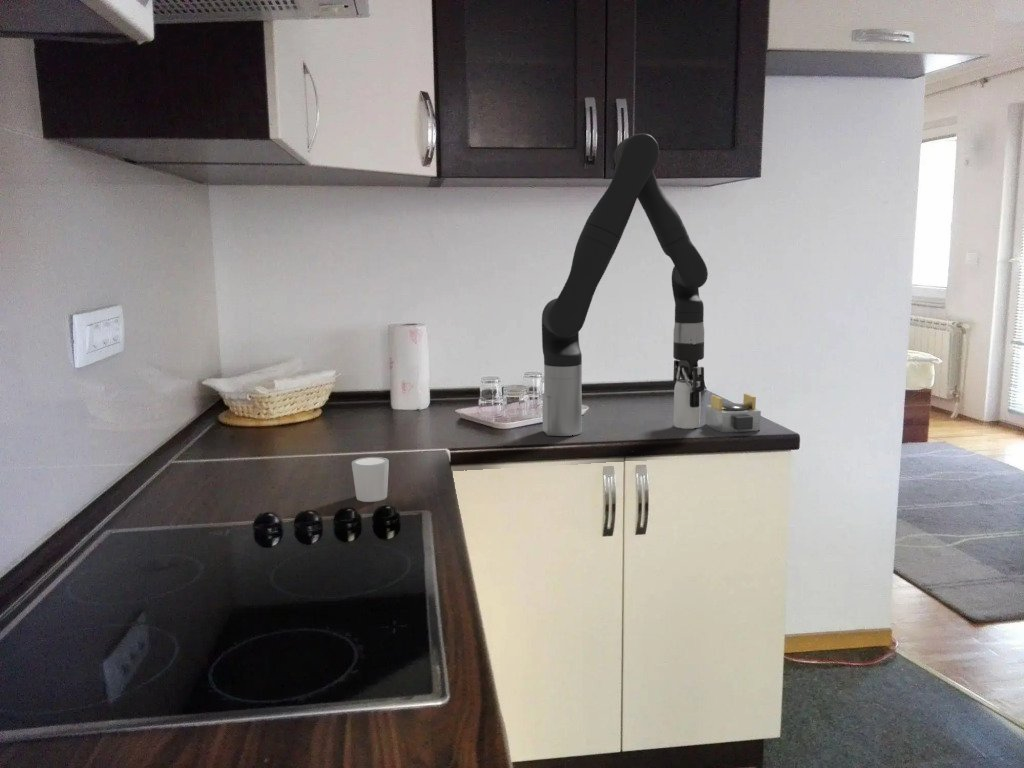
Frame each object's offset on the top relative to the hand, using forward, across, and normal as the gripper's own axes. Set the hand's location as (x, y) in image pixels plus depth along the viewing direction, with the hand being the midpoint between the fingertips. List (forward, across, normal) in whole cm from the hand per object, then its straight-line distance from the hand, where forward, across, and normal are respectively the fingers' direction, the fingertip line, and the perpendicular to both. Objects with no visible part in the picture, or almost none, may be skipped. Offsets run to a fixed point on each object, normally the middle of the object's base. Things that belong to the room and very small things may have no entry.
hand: (687, 403), depth 203 cm
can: (+6, 0, 0) cm, 6 cm away
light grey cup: (+5, +42, -79) cm, 90 cm away
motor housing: (+6, +3, +11) cm, 13 cm away
